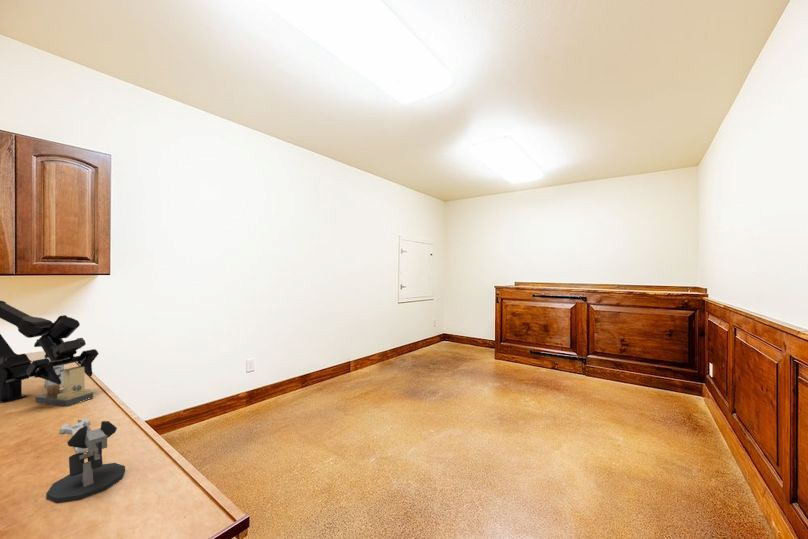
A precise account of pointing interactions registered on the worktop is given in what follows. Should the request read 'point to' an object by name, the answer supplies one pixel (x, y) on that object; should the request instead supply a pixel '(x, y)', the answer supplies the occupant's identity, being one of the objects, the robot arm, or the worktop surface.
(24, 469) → the worktop surface
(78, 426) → the adjustable wrench
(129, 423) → the worktop surface
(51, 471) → the worktop surface
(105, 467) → the gun turret
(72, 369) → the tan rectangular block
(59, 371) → the ink box
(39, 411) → the worktop surface
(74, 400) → the brushed steel slab
